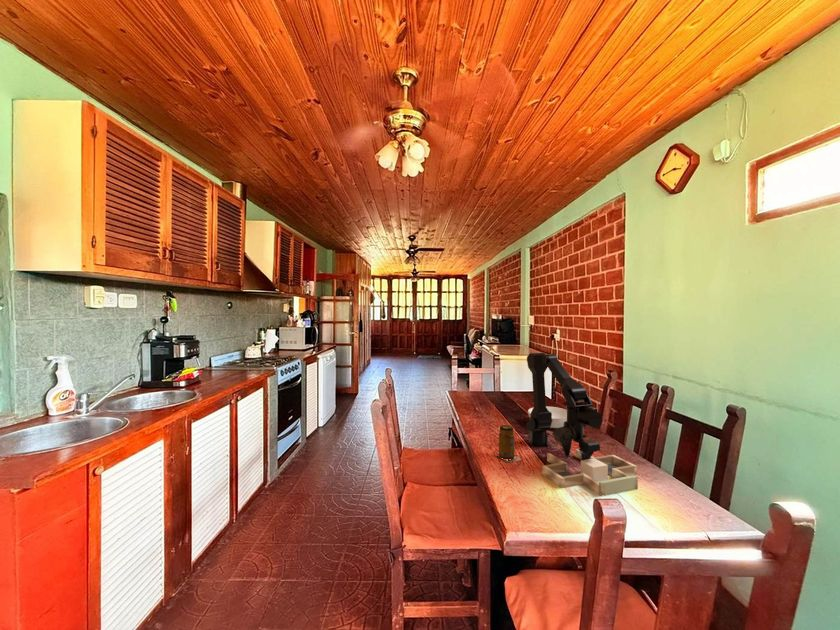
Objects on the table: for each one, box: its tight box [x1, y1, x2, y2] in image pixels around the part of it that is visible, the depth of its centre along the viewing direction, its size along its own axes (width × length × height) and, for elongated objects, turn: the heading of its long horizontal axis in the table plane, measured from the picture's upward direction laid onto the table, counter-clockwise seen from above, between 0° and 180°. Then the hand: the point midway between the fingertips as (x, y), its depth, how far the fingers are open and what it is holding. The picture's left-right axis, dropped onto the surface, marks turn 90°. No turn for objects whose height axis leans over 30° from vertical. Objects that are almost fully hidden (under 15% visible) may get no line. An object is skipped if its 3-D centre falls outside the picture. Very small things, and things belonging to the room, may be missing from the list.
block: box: [580, 458, 609, 482], centre depth 125 cm, size 6×6×5 cm
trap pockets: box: [541, 454, 638, 489], centre depth 127 cm, size 10×32×3 cm, turn 107°
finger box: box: [546, 448, 639, 496], centre depth 127 cm, size 27×14×4 cm, turn 17°
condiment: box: [493, 424, 522, 463], centre depth 142 cm, size 7×8×12 cm
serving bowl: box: [527, 405, 567, 429], centre depth 181 cm, size 21×21×7 cm
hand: (575, 461), depth 134 cm, fingers open, 9 cm apart
